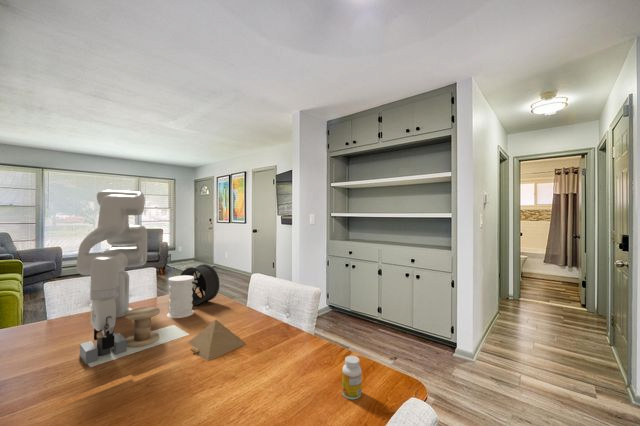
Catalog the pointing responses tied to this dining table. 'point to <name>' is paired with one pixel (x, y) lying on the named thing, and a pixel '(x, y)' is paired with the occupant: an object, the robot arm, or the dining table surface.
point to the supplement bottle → (351, 378)
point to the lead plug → (99, 345)
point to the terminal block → (91, 351)
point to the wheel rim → (203, 283)
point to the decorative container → (180, 296)
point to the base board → (164, 336)
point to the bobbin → (142, 326)
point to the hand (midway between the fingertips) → (103, 343)
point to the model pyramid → (215, 341)
